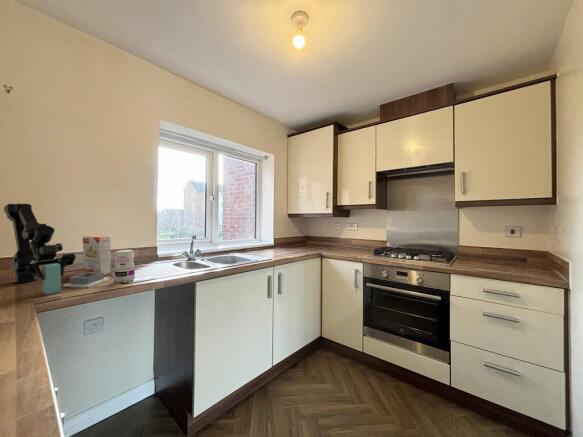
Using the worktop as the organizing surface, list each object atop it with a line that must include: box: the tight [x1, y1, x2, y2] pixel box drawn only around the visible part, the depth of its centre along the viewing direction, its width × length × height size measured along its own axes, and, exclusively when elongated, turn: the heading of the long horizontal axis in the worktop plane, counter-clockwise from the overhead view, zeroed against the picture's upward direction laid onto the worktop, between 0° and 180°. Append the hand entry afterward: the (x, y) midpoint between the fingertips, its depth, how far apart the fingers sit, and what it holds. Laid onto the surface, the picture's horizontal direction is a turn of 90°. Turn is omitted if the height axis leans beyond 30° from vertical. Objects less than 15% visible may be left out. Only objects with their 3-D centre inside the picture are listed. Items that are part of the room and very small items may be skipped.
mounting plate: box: [63, 272, 110, 288], centre depth 121 cm, size 12×12×4 cm
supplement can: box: [113, 249, 136, 283], centre depth 125 cm, size 8×8×15 cm
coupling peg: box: [41, 263, 62, 295], centre depth 107 cm, size 4×4×12 cm
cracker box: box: [82, 234, 112, 276], centre depth 138 cm, size 14×6×21 cm, turn 69°
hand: (53, 278), depth 106 cm, fingers open, 6 cm apart
